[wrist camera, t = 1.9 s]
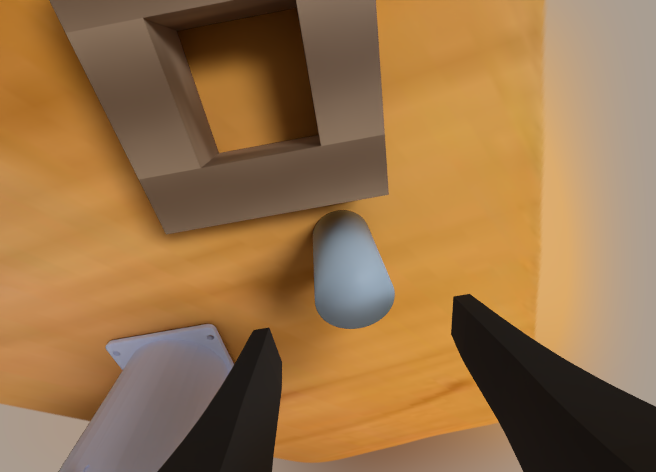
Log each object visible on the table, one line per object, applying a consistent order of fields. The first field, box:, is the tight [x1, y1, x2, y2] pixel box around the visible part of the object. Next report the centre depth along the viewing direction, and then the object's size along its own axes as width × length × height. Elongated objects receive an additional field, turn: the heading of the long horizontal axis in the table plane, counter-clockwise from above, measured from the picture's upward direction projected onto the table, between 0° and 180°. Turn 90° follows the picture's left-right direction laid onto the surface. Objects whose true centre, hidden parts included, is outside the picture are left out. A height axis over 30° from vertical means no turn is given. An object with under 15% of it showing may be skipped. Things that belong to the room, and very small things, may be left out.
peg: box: [313, 210, 395, 329], centre depth 16 cm, size 4×4×6 cm
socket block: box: [49, 0, 389, 234], centre depth 13 cm, size 11×11×3 cm
